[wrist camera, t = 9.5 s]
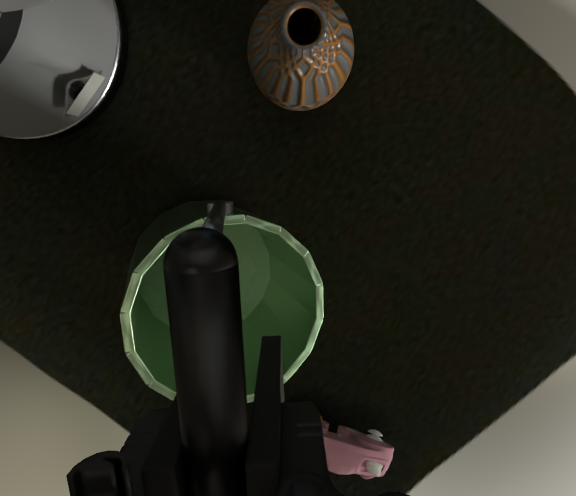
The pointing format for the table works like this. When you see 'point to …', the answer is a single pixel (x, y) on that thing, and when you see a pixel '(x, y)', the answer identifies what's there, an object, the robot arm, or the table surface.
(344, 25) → the vase
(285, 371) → the bucket
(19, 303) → the table surface
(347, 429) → the video game controller
